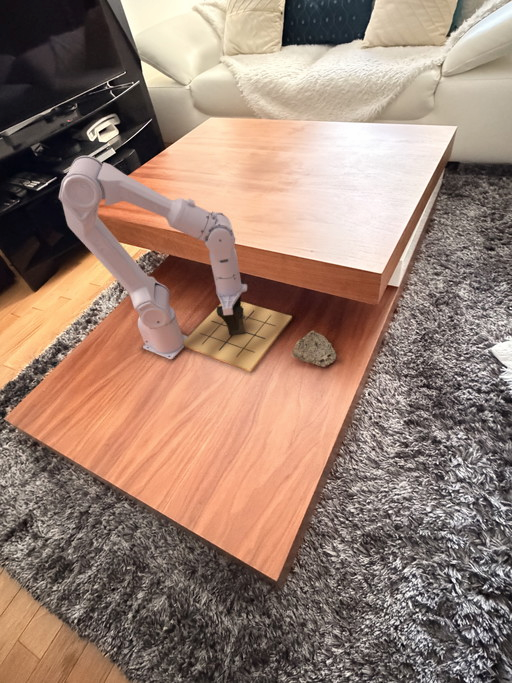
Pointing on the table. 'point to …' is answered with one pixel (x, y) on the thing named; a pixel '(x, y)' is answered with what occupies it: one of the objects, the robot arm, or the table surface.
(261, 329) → the game board
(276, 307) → the table surface
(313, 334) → the rock sample
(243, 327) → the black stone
